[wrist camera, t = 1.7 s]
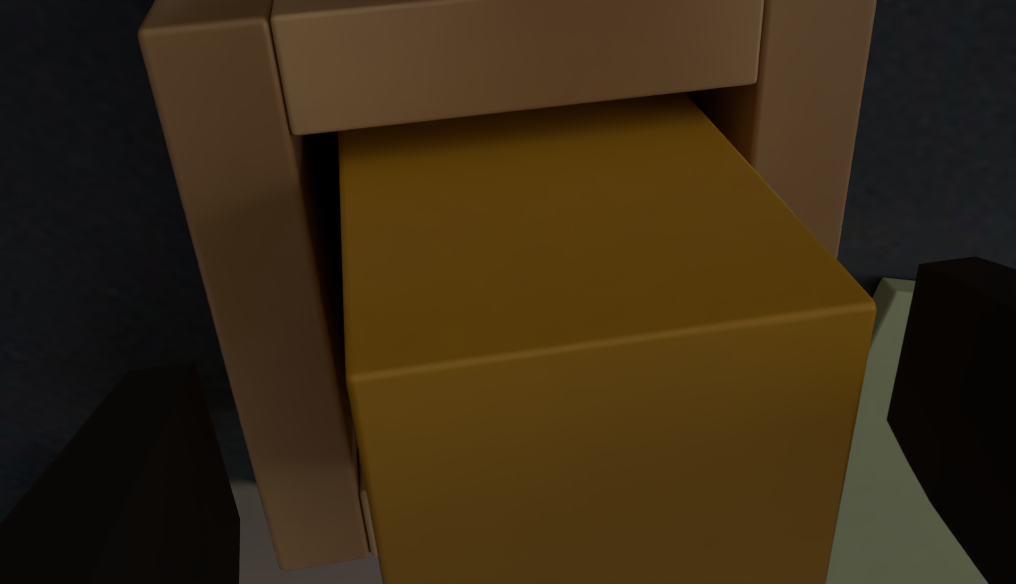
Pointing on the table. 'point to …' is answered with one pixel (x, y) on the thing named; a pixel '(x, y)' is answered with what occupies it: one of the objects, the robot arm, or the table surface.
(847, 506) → the mat
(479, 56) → the stand
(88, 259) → the table surface
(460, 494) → the block
